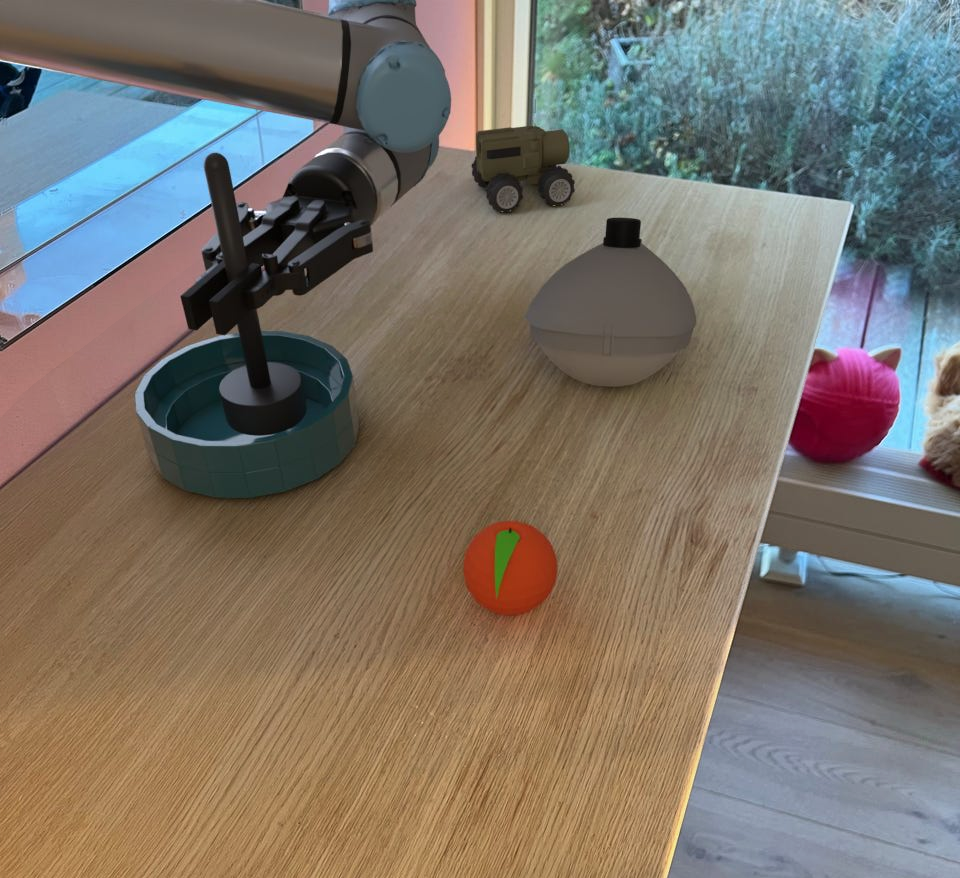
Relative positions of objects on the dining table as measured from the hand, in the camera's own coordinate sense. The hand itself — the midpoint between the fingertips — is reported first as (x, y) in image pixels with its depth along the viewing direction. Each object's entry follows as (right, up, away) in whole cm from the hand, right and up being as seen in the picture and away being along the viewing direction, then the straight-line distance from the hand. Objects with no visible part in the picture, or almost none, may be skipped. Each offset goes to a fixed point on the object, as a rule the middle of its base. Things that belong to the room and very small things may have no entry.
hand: (203, 315), depth 78 cm
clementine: (+23, -22, 0) cm, 32 cm away
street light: (+34, +5, +26) cm, 43 cm away
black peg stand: (+2, -5, +12) cm, 13 cm away
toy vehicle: (+26, +32, +53) cm, 67 cm away
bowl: (+1, -7, +16) cm, 17 cm away
